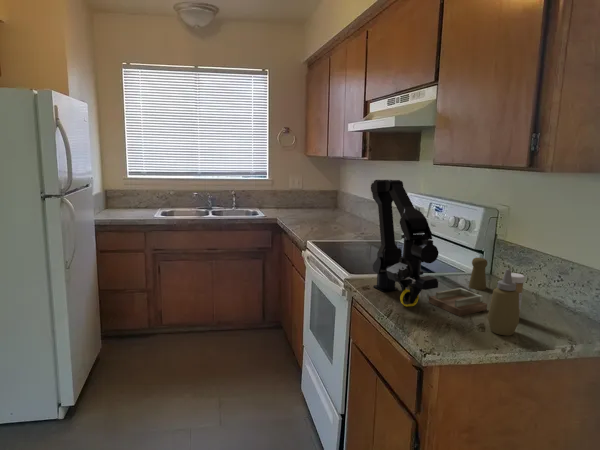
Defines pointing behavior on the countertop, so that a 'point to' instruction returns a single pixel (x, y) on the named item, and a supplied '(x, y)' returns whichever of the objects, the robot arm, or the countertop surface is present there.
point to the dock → (458, 301)
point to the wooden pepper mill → (478, 274)
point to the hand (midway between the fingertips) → (409, 302)
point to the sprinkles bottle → (518, 285)
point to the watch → (403, 296)
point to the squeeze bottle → (504, 307)
